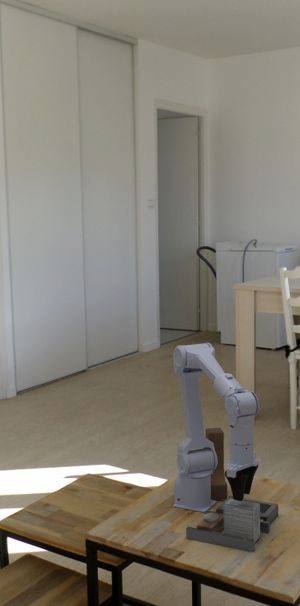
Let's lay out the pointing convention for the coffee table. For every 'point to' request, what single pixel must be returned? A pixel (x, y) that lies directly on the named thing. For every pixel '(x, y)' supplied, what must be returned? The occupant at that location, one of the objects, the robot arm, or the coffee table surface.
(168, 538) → the coffee table surface
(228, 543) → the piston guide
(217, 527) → the brown block grey dome
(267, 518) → the tray
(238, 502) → the medicine box
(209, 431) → the wooden block
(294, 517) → the coffee table surface
